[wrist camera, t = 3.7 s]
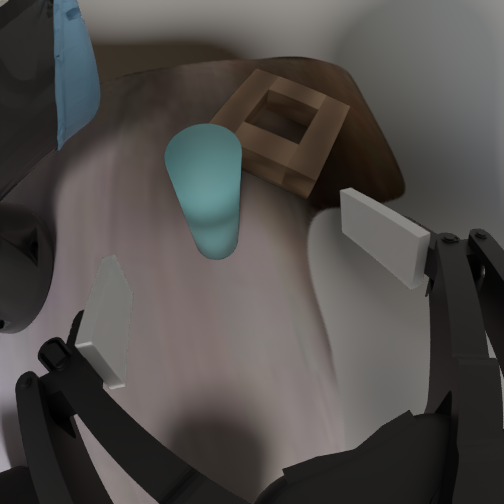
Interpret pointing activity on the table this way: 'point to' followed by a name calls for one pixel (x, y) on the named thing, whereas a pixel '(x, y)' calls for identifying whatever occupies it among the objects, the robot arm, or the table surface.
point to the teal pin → (207, 185)
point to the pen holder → (17, 487)
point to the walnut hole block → (282, 129)
